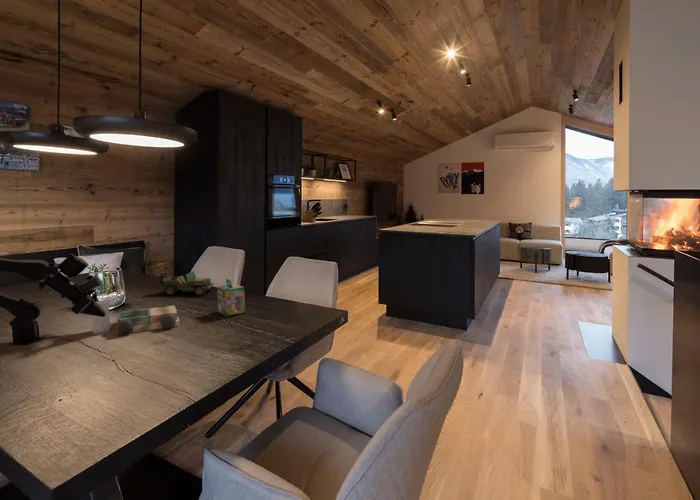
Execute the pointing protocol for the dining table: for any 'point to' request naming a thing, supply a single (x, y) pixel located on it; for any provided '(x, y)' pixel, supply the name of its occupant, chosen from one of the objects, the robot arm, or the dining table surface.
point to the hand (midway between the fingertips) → (105, 313)
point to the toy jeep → (185, 284)
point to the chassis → (147, 319)
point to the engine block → (101, 318)
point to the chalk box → (230, 299)
